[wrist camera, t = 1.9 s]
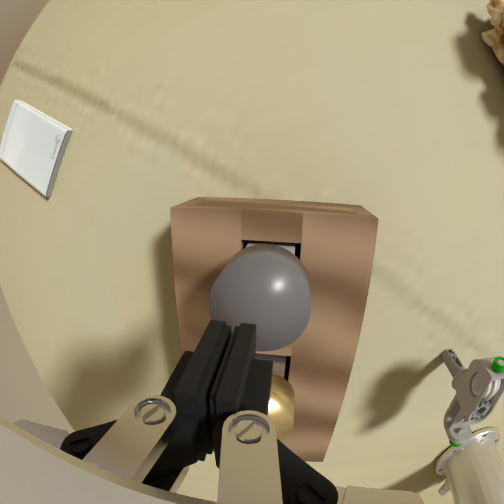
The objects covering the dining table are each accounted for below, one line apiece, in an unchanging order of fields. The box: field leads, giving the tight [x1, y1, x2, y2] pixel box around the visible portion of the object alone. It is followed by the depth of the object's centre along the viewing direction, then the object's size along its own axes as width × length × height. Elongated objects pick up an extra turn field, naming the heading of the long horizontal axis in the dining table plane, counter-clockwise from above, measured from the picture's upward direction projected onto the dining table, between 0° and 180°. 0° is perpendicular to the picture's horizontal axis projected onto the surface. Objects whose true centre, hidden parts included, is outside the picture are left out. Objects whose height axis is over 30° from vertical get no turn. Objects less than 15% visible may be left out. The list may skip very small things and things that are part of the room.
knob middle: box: [255, 353, 295, 442], centre depth 21 cm, size 5×5×8 cm
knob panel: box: [170, 197, 378, 462], centre depth 26 cm, size 26×14×6 cm, turn 179°
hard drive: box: [0, 100, 73, 197], centre depth 27 cm, size 2×8×12 cm
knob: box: [209, 240, 311, 352], centre depth 19 cm, size 5×5×8 cm
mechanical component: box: [441, 350, 504, 447], centre depth 22 cm, size 3×10×10 cm, turn 178°
